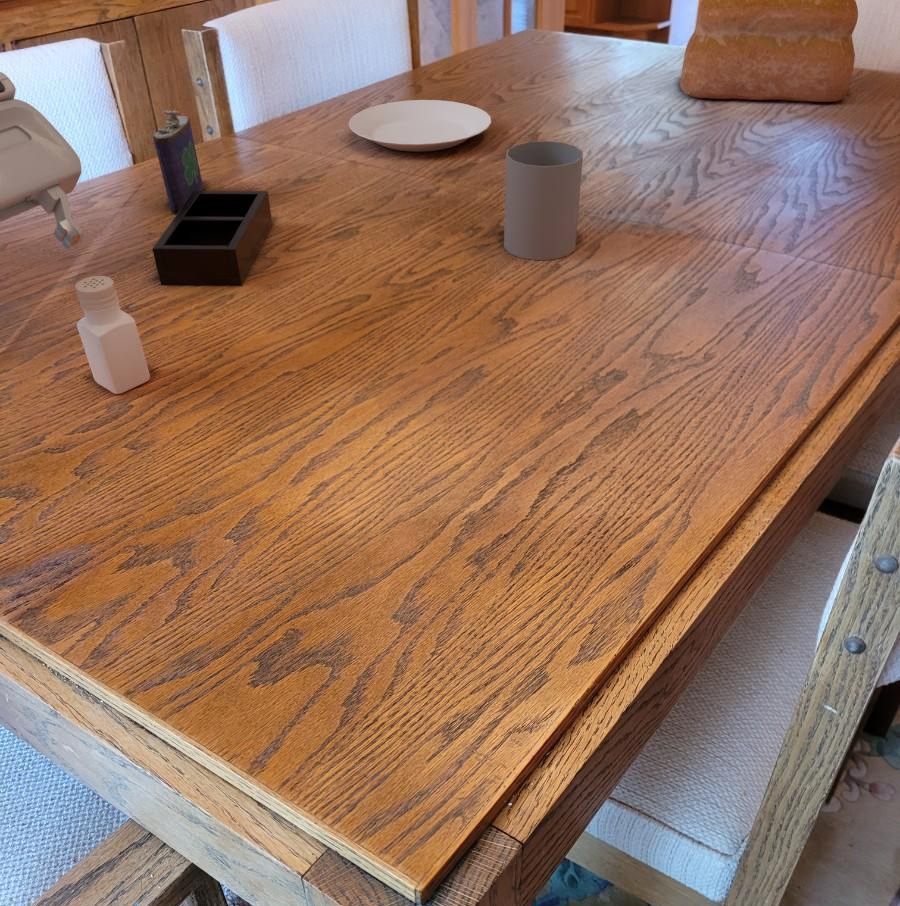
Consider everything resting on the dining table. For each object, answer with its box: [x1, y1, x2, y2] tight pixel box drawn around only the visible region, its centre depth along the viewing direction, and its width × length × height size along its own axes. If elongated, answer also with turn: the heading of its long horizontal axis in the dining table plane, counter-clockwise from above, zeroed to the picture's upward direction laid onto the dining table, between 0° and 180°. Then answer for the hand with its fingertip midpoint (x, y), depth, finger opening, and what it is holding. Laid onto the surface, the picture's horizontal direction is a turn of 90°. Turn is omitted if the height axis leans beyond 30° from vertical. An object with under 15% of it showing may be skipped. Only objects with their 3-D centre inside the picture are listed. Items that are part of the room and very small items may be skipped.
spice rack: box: [151, 190, 273, 287], centre depth 103 cm, size 9×17×4 cm, turn 177°
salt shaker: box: [74, 275, 151, 395], centre depth 80 cm, size 4×4×10 cm
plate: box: [348, 99, 492, 153], centre depth 133 cm, size 21×21×2 cm
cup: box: [503, 140, 584, 261], centre depth 101 cm, size 8×8×10 cm
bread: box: [679, 0, 859, 103], centre depth 142 cm, size 14×26×15 cm, turn 80°
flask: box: [152, 109, 205, 215], centre depth 112 cm, size 9×3×11 cm, turn 175°
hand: (35, 261), depth 78 cm, fingers open, 8 cm apart
